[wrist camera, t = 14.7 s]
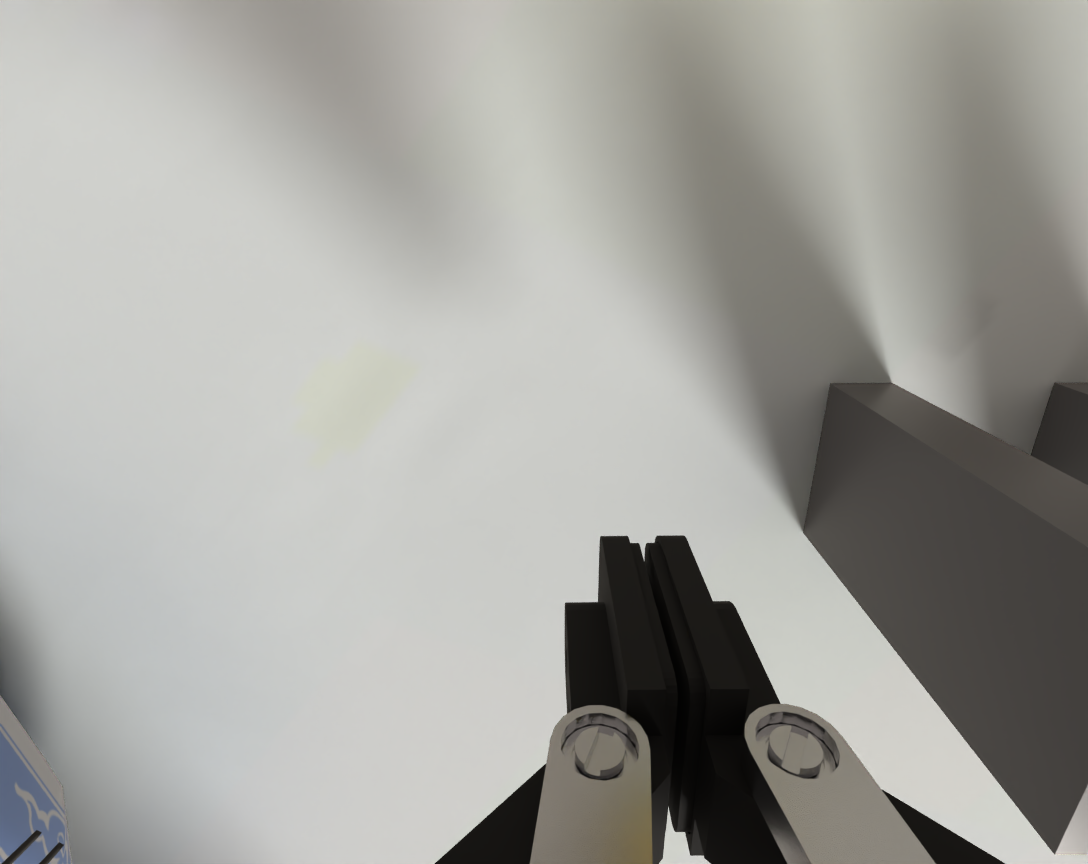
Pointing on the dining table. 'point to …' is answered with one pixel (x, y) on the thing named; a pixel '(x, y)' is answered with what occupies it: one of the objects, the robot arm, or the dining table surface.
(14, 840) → the ramen bowl
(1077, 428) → the domino
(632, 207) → the dining table surface
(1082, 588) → the domino
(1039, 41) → the dining table surface
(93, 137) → the dining table surface
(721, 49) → the dining table surface
